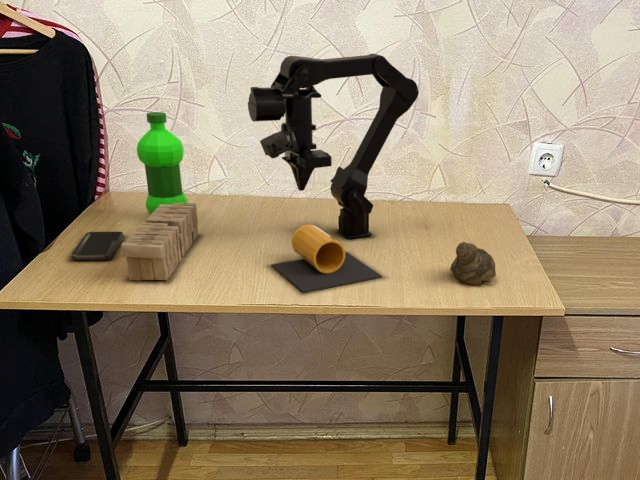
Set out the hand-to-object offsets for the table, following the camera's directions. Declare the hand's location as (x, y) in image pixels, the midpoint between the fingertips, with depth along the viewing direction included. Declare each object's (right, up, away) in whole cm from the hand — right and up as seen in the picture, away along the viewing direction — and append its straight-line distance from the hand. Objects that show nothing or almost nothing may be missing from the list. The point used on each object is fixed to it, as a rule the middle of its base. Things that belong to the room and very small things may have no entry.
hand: (301, 190), depth 163 cm
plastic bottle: (-35, -4, +14) cm, 38 cm away
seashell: (+40, -21, -8) cm, 46 cm away
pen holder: (+2, -12, -6) cm, 14 cm away
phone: (-43, -14, -6) cm, 46 cm away
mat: (+7, -20, -10) cm, 23 cm away
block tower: (-28, -16, -8) cm, 33 cm away
